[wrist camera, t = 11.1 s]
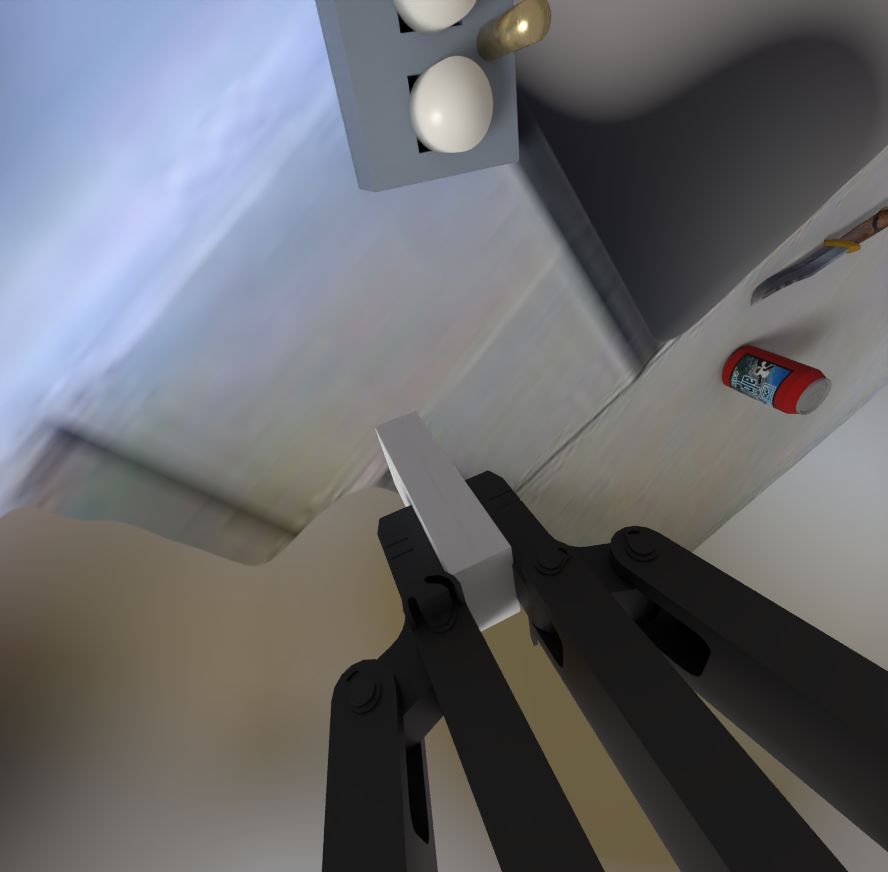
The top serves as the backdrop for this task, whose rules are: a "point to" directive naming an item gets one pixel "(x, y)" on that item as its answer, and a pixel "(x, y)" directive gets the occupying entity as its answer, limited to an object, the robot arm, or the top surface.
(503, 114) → the mount
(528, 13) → the pot post
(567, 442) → the top surface
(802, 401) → the beverage can
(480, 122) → the knob
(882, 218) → the knife
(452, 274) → the top surface
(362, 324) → the top surface
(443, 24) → the knob
